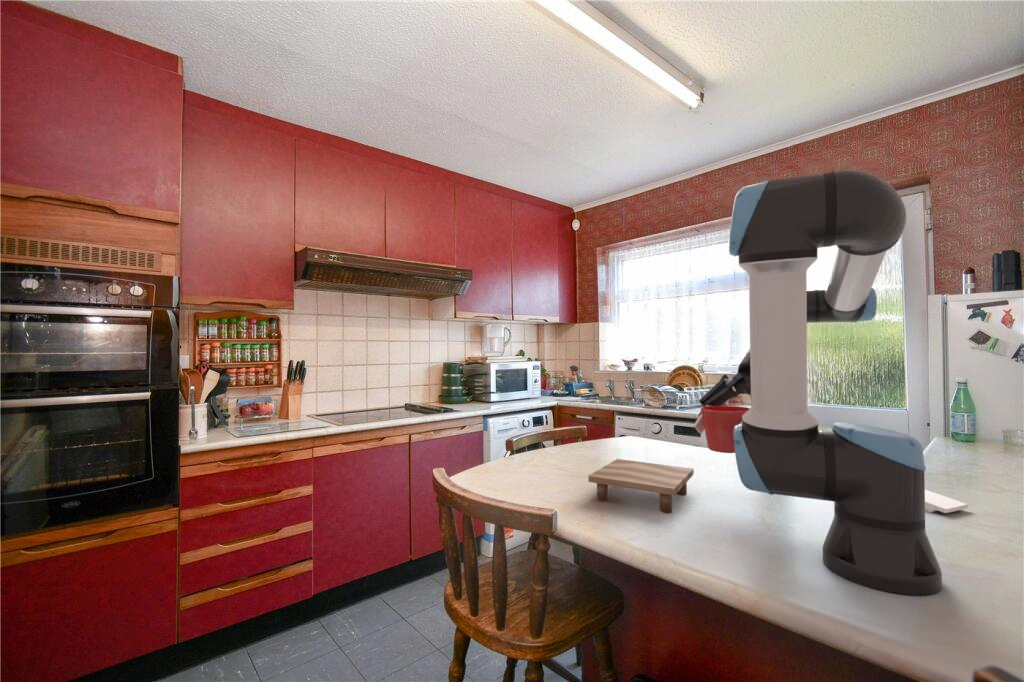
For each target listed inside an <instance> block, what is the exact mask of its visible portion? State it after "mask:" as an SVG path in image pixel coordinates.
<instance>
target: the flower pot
mask: <svg viewBox="0 0 1024 682" xmlns="http://www.w3.org/2000/svg"><path fill="white" fill-rule="evenodd" d="M750 408H751V407H746V406H745V407H744V406H736V405H735V406H734V405H720V406H712V405H711V406H704V407H703V406H702V407H701V408H700V412H701V413H702V419H703V424H704V434H705V438H706V443H707V446H708V449H709V450H710V451H712V452H716V453H723V454H735V445H734V435H733V431H734V426H735V425H738V424H740V423H741V421H742V416H743V415H744V414H745V413H746V412H747V411H748V410H750Z"/></svg>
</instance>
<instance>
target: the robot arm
mask: <svg viewBox="0 0 1024 682" xmlns="http://www.w3.org/2000/svg"><path fill="white" fill-rule="evenodd" d="M906 211H907V210H906V207H905V203H904V202H903V199H902V197H901V195H900V194H899V193H898V191H897V190H896V189H895V188H894V187H893V186H892V185H891V184H889V183H888V182H887V181H886V180H884V179H883V178H881V177H879V176H877V175H875V174H872V173H870V172H867V171H863V170H857V169H838V170H833V171H829V172H821V173H815V174H808V175H800V176H793V177H786V178H779V179H772V180H766V181H763V182H762V181H761V182H760V183H759V182H758V183H755V184H750V185H746V186H743V187H742V188H740V189H739V191H737V193H736V195H735V197H734V201H733V207H732V212H731V213H732V214H731V221H730V228H729V230H730V231H729V245H728V249H729V250H728V252H729V255H730V256H732V257H733V256H734V257H737V256H738V266H739V267H740V268H741V269H742V270H743V271H745V272H746V273H747V274H748V297H749V298H748V301H749V302H748V303H749V305H748V309H749V349H748V350H747V352H746V354H745V356H744V357H743V359H742V360H741V361H740V363H739V365H738V369H737V372H736V374H735V375H734V376H728V375H727V374H723V375H722V376H721V378H720V379H719V381H718V382H717V383H716V384H715V385H714V386H713V387H712V388H711V389H710V390H709V391H708V392H706V393H705V395H703V396H702V397H701V398H700V399H699V400H698V401H699V403H700V405H701V406H702V407H704V406H723V404H724V403H726V402H728V401H729V400H730V399H732V398H734V397H736V398H737V397H738V396H739V395H748V396H750V405H751V407H749V408H750V410H748V411H747V412H746V413H745V414H744V415H743V416H742V421H741V423H740V424H738V425H735V426H734V431H733V435H734V445H735V453H734V454H735V455H734V456H735V461H736V467H737V471H738V476H739V478H740V482H741V484H742V485H743V486H744V488H745V489H748V490H749V491H754V492H761V493H764V494H768V495H771V496H773V495H777V496H785V497H786V496H787V497H794V498H802V499H803V498H804V499H811V500H819V501H826V502H833V505H834V507H833V510H834V511H833V512H834V513H833V514H834V515H833V519H832V521H831V524H830V527H829V529H828V530H827V531H828V532H827V535H826V536H825V539H824V541H823V545H822V561H823V563H824V565H825V566H826V567H827V568H828V569H830V570H831V571H832V572H834V573H835V574H837V575H839V576H840V577H843V578H845V579H847V580H849V581H852V582H854V583H857V584H860V585H862V586H866V587H868V588H872V589H877V590H880V591H884V592H890V593H894V594H901V595H910V596H912V595H913V596H919V595H920V596H924V595H926V596H927V595H932V594H936V593H939V592H941V590H942V588H943V573H942V569H941V567H940V564H939V561H938V560H937V557H936V555H935V552H934V549H933V547H932V545H931V542H930V540H929V538H928V537H929V536H928V535H927V532H926V511H925V490H926V489H925V488H926V486H925V485H926V484H925V482H926V481H925V471H926V470H927V467H926V464H925V456H924V449H923V445H922V444H921V442H920V441H919V440H918V439H916V438H915V437H913V436H912V435H909V434H906V433H903V432H900V431H895V430H892V429H887V428H882V427H878V426H872V425H869V424H868V425H867V424H860V423H853V422H841V421H838V422H834V423H833V424H832V426H831V430H821V429H819V420H818V419H817V418H816V417H815V416H814V415H812V413H810V411H809V410H808V324H809V323H811V324H812V323H813V324H814V323H815V324H816V323H857V322H868V321H872V320H873V319H874V318H875V317H876V314H877V308H878V307H877V306H878V305H877V304H878V301H877V299H878V298H877V292H876V290H875V288H873V285H874V282H875V281H876V278H877V275H878V272H879V271H880V268H881V265H882V263H883V261H884V259H885V256H886V253H887V252H888V251H889V250H891V249H892V248H893V247H895V245H896V244H897V243H898V242H899V240H900V238H901V237H902V235H903V232H904V230H905V227H906V223H907V212H906ZM833 246H834V250H833V255H832V260H831V264H830V269H829V273H828V278H827V282H826V287H825V288H823V289H807V282H808V281H807V279H808V278H807V276H808V275H807V272H808V269H809V268H810V267H811V266H812V265H813V264H815V262H816V261H817V260H818V249H819V248H820V249H821V248H827V247H833ZM693 427H694V429H695V430H696V431H697V432H698V433H699V434H702V433H703V432H705V429H704V424H703V419H702V413H701V411H700V412H699V413H698V418H697V419H696V420H695V422H694V424H693Z"/></svg>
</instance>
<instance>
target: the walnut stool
mask: <svg viewBox="0 0 1024 682" xmlns="http://www.w3.org/2000/svg"><path fill="white" fill-rule="evenodd" d="M694 474H695V473H694V468H691V467H685V466H677V465H668V464H660V463H652V462H645V461H636V460H630V459H623V458H622V459H621V458H616V459H614V460H612V461H611V462H609V463H607V464H606V465H604V466H603V467H601V468H599V469H597V470H595V471H594V472H592V473H591V474H588V477H587V478H588V481H587V482H589V483H592V484H596V501H599V502H608V500H609V489H608V487H609V486H612V487H619V488H623V489H630V490H636V491H643V492H649V493H653V494H659V512H661V513H664V514H671V513H673V504H672V503H673V496H675V495H679V496H686V495H687V494H688V491H687V490H688V485H687V484H688V482H689V481H690V479H691V478H692V477H693V475H694Z"/></svg>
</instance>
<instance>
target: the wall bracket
mask: <svg viewBox="0 0 1024 682" xmlns="http://www.w3.org/2000/svg"><path fill="white" fill-rule="evenodd" d="M968 504H969V503H966V502H962V501H959V500H956V499H954V498H950V497H948V496H945V495H942V494H940V493H939V494H938V493H936V492H933V491H931V490H927V489H925V512H929V513H933V512H934V513H935V512H938V511H939V512H941V513H944V514H947V513H948V514H949V513H953V512H957V511H962V510H967V509H968V507H969V505H968Z"/></svg>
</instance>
